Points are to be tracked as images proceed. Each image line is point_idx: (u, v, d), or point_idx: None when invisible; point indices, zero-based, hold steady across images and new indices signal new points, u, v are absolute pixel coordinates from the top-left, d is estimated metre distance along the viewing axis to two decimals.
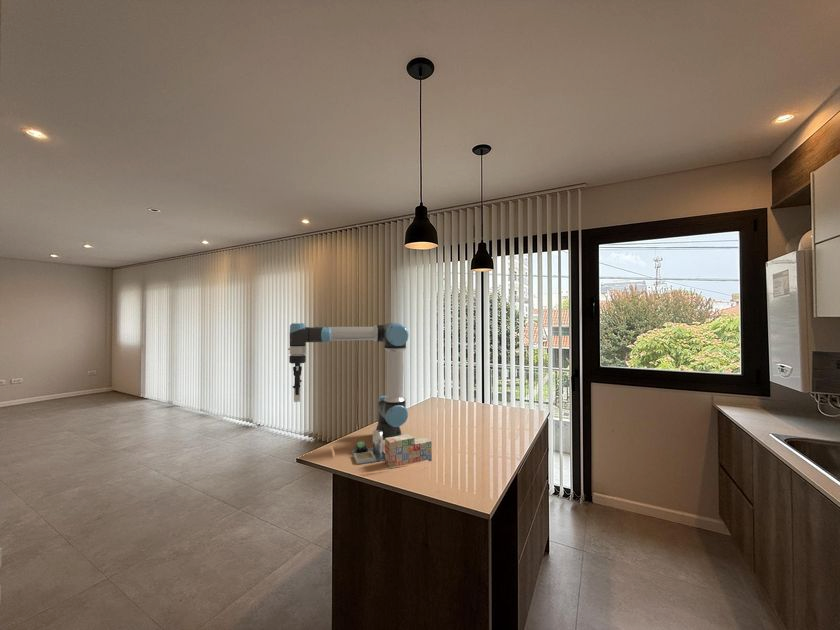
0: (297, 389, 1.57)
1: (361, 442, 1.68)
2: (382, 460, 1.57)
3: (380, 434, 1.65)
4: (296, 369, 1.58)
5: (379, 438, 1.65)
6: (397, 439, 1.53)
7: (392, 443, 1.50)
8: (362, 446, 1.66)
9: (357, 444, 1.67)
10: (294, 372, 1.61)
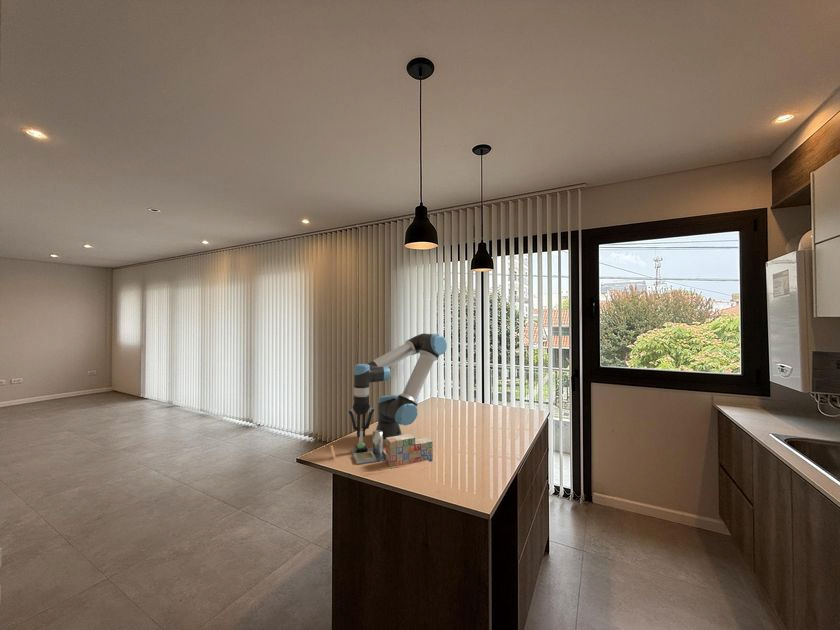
0: (357, 431, 1.67)
1: None
2: (382, 460, 1.57)
3: (380, 434, 1.65)
4: (349, 413, 1.66)
5: (379, 438, 1.65)
6: (398, 439, 1.53)
7: (392, 443, 1.51)
8: (362, 447, 1.66)
9: (357, 445, 1.67)
10: None
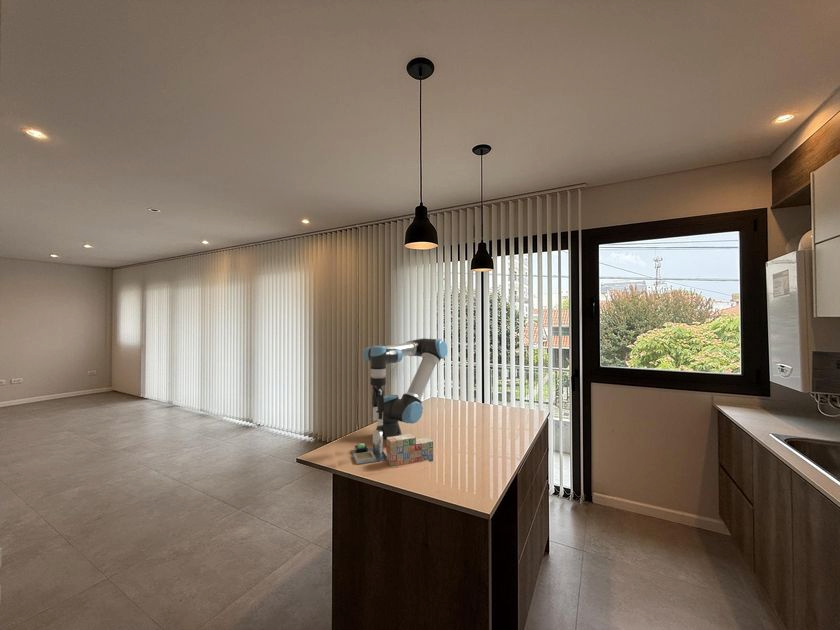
0: (381, 413, 1.62)
1: (361, 444, 1.68)
2: (382, 460, 1.57)
3: (380, 434, 1.65)
4: (380, 394, 1.61)
5: (379, 438, 1.65)
6: (398, 438, 1.54)
7: (393, 442, 1.51)
8: None
9: (357, 446, 1.67)
10: (376, 395, 1.64)
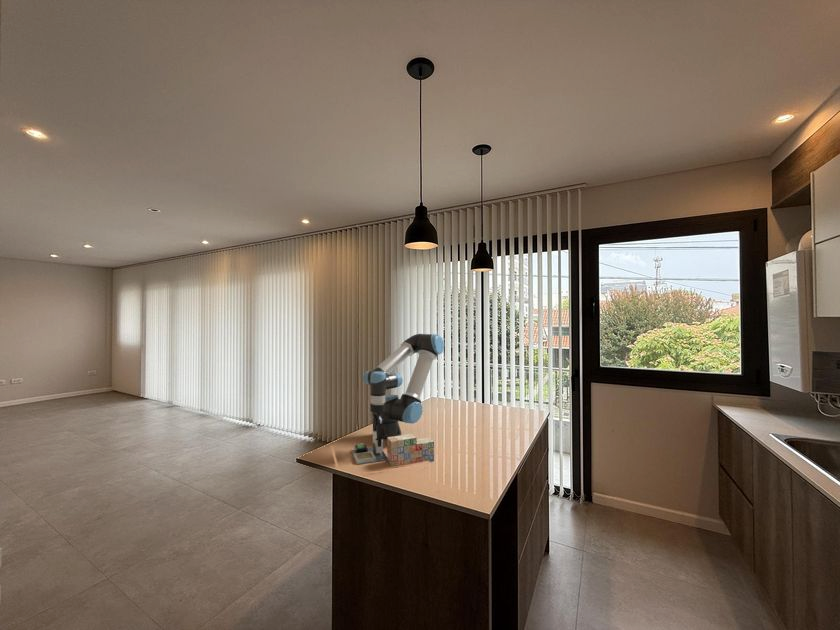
0: (380, 441, 1.63)
1: (361, 444, 1.68)
2: (382, 460, 1.57)
3: None
4: (380, 422, 1.61)
5: None
6: (399, 438, 1.54)
7: (394, 442, 1.51)
8: None
9: (357, 446, 1.67)
10: (376, 422, 1.65)
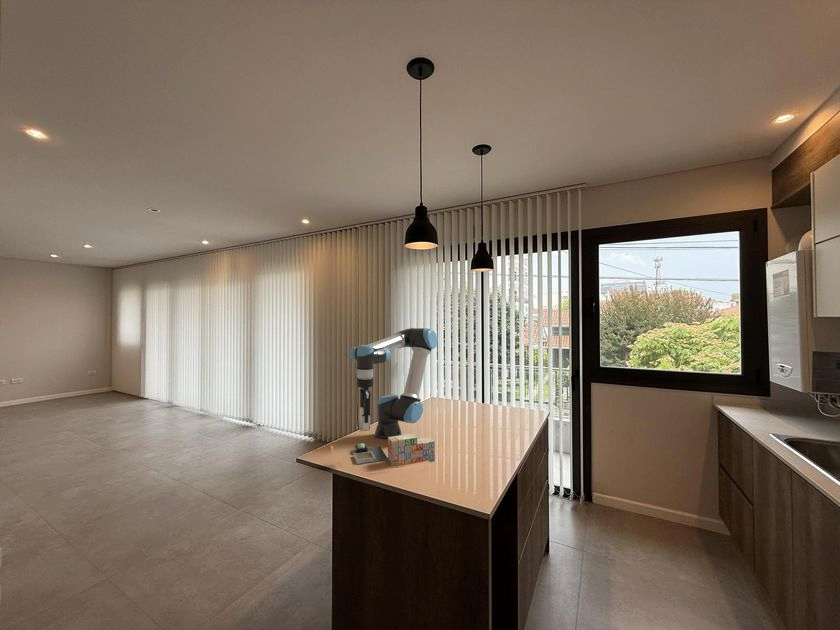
0: (367, 417, 1.55)
1: (361, 444, 1.68)
2: (382, 460, 1.57)
3: None
4: (366, 397, 1.53)
5: None
6: (399, 438, 1.54)
7: (394, 442, 1.51)
8: None
9: (357, 446, 1.67)
10: (363, 398, 1.56)
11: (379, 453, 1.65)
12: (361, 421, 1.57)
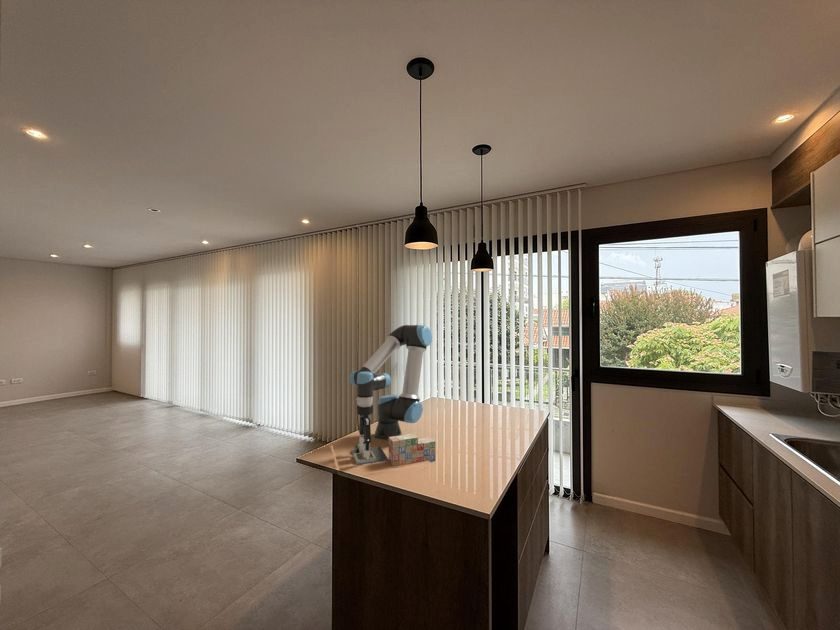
0: (368, 444, 1.52)
1: None
2: (382, 460, 1.57)
3: None
4: (366, 423, 1.52)
5: None
6: (400, 438, 1.54)
7: (395, 442, 1.52)
8: None
9: (357, 446, 1.67)
10: (363, 425, 1.55)
11: (379, 453, 1.65)
12: (361, 451, 1.56)
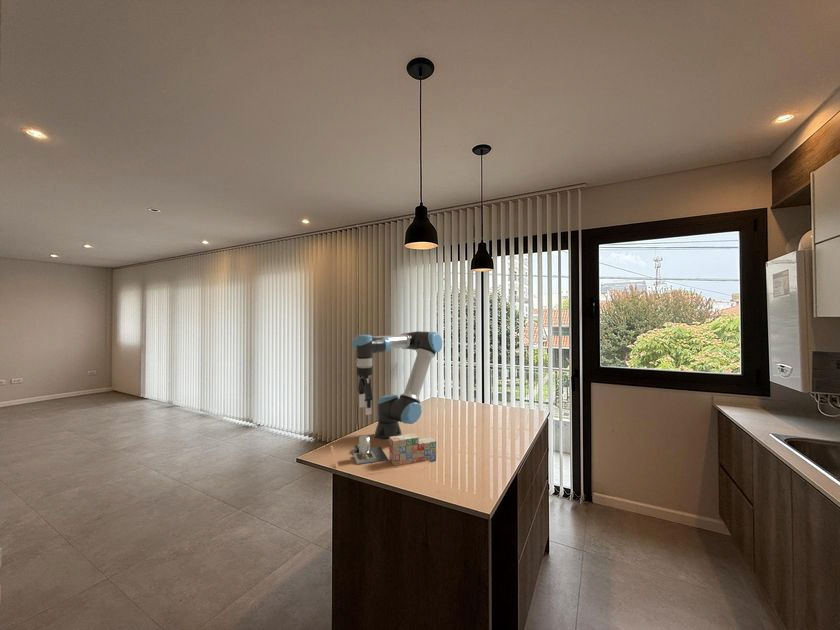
0: (369, 402, 1.55)
1: None
2: (382, 460, 1.57)
3: (367, 440, 1.57)
4: (367, 382, 1.57)
5: (366, 444, 1.56)
6: (401, 438, 1.54)
7: (396, 442, 1.52)
8: None
9: (357, 446, 1.67)
10: (363, 384, 1.59)
11: (379, 453, 1.65)
12: (361, 451, 1.56)
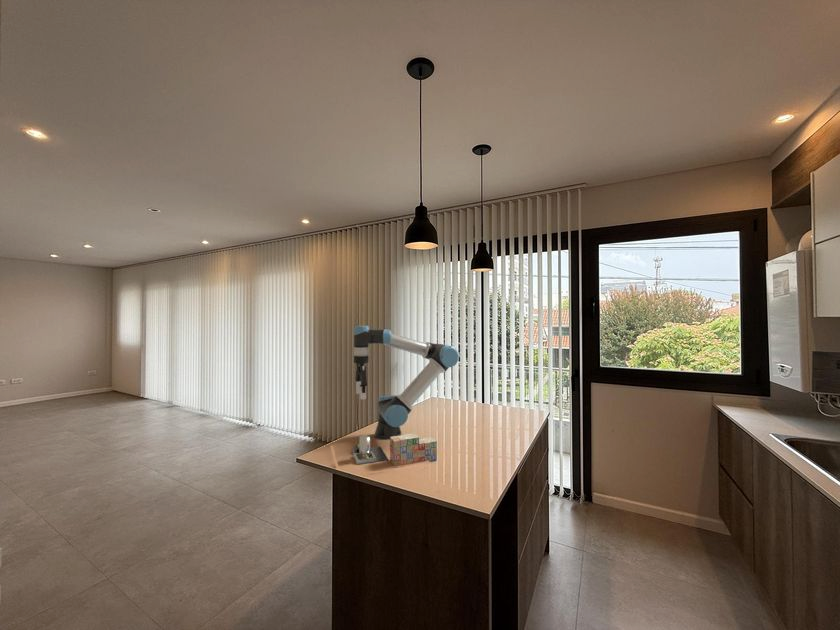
0: (364, 387, 1.67)
1: None
2: (382, 460, 1.57)
3: (367, 440, 1.57)
4: (362, 369, 1.69)
5: (366, 444, 1.56)
6: (402, 438, 1.54)
7: (396, 442, 1.52)
8: None
9: (357, 446, 1.67)
10: (359, 371, 1.72)
11: (379, 453, 1.65)
12: (361, 451, 1.56)
